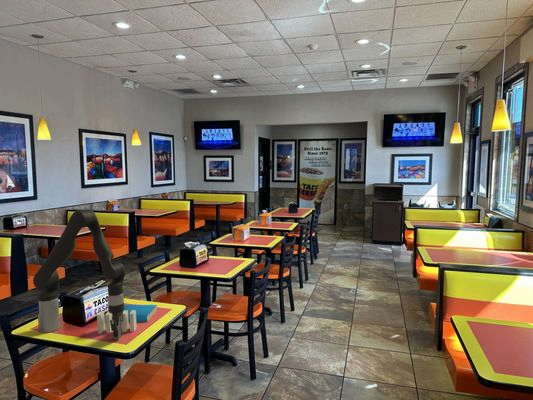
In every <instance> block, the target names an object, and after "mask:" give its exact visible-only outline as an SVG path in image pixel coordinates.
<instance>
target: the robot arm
mask: <svg viewBox="0 0 533 400" xmlns="http://www.w3.org/2000/svg"><path fill="white" fill-rule="evenodd" d="M85 228H87V229H88V230H89V232H90V233H91V236H92V246H93V250H94V254H95V255H96V256H97V258H98V260H99V262H100V267H101V270H102V274H103V276H104V277H105V278H106V279H107V280H111V281H110V282H109V283H108V285H107V308H108V311H109V313H111V314H112V320H110V324H111V330H112V332H113V337H118V325H119V322H120V323H121V325H122V322H123V311H124V305H125V298H124V297H125V296H124V290H123V289H124V288H123V286H124V284H123V283H124V280H125V275H126V268H125V265H124V264H123V263H122V262H114V263H112V260H113V259H114V257H115V255H114V253H113V250H111V248H110V246H109V244H108V242H107V239H106V238H105V235H104V233H103V230H102V228H101V225H100V222H99V220H98V217H97V215H96V213H95V212H94V211H93V210H92V209H89V208H88V209H80V210H79V209H78V210H76V211H74V212H73V213H72V214H71V215H70V218H69V219H68V222H67V223H66V225H65V228H64V230H63V232H62V233H61V235H60V237H59V238H58V240H57V242H56V243H55V245H54V246H53V247H52V250H50V251H51V252H50V253H49V255H48V256H47V258H46V259H45V261H44V263H43V264H42V265H41V266H40V267H39V269H38V270H37V271H36V272H35V274H34V276H33V280H32V284H33V286H34V287H35V288H37V289H39V290H40V289H41V290H42V291H41V292H40V293H39V294H38V299H37V301H38V311H39V312H38V314H37V320H38V321H37V322H38V323H37V324H38V332H40V333H44V334H45V333H52V332H55V331H58V330H59V329H60V327H61V322H60V320H61V319H60V309H59V308H60V305H59V292H60V275H59V272H58V271H57V269H59V268H60V267H61V266H63V265H64V264H65V263H66V262H67V261H68V260H69V259H70V257H71V256H72V255H73V253H74V251H75V250H76V249H75V248H76V247H77V245H76V244H77V243H76V237H77V235H78V234H79V232H80V231H81V230H82V229H85ZM108 311H107V312H108ZM116 322H118V323H117V324H116ZM114 327H115V328H114ZM121 332H122V327H121Z"/></svg>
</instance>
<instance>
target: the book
mask: <svg viewBox="0 0 533 400" xmlns="http://www.w3.org/2000/svg"><path fill="white" fill-rule="evenodd" d="M157 307H158V304H124V310H128V322H130V312H131V311H132V310H136V322H143V323H144V322H149V321H150V319H151V318H152V317H153V316H154V315H155V313H156V312H157V310H158V309H157ZM152 315H153V316H152ZM104 320H105V317H104Z"/></svg>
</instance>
